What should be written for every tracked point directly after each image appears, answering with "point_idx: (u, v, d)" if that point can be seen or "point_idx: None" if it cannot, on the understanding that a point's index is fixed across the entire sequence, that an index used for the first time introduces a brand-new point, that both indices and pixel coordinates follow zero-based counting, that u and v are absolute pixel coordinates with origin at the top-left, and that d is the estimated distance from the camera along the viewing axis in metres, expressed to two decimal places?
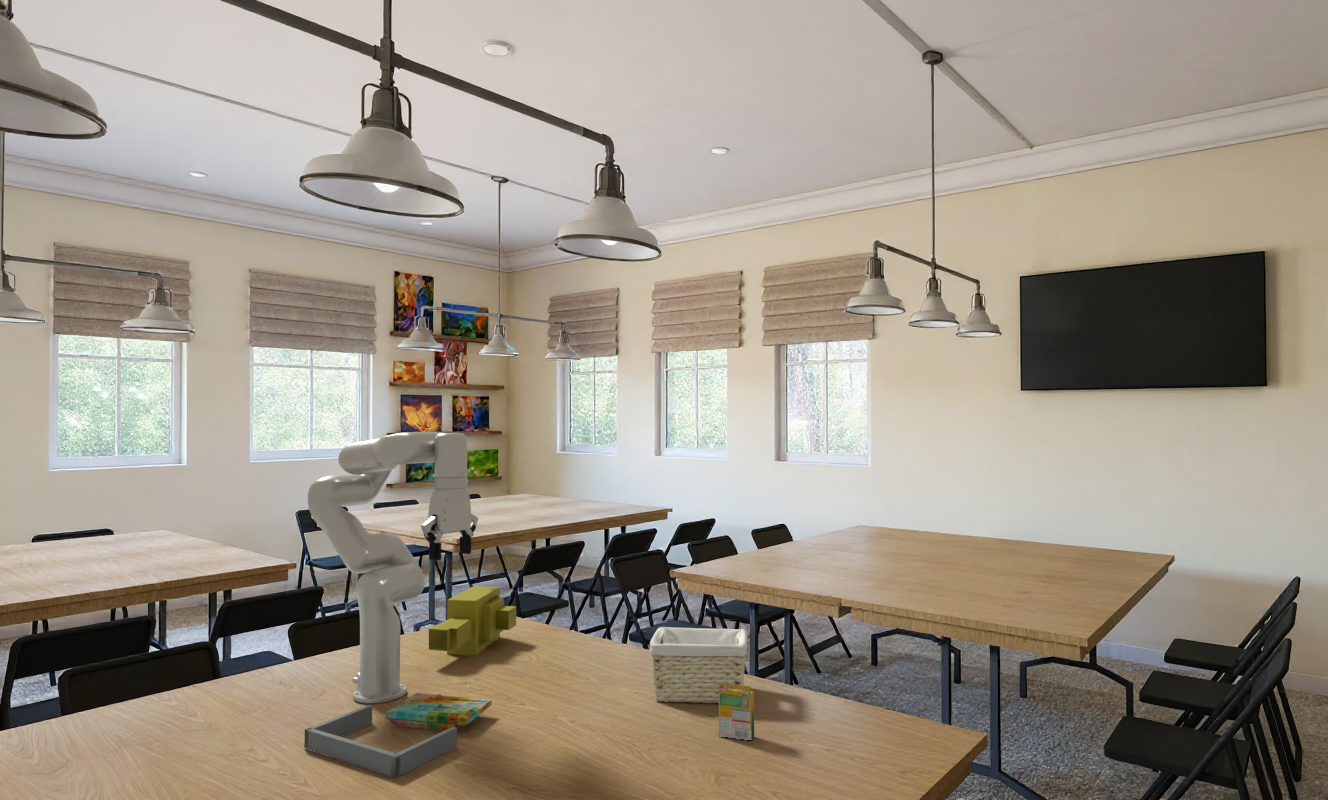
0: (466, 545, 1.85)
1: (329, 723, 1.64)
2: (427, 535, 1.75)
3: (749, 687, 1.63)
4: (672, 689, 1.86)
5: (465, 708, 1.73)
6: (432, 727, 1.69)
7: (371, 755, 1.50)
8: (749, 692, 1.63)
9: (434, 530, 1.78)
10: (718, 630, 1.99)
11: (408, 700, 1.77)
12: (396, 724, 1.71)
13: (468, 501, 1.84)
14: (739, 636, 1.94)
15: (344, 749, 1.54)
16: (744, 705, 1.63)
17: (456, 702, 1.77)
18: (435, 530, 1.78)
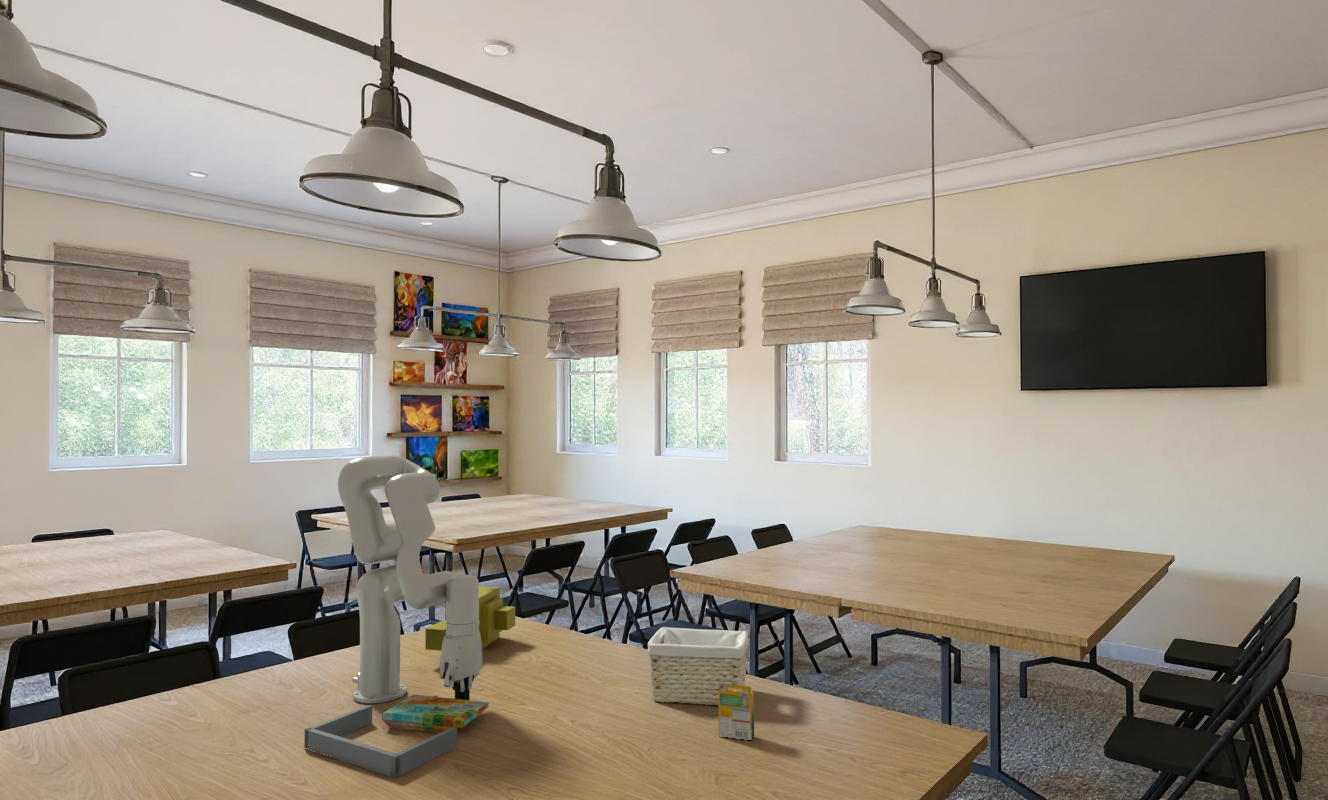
0: None
1: (329, 723, 1.64)
2: (454, 686, 1.78)
3: (749, 687, 1.63)
4: (669, 690, 1.85)
5: (461, 710, 1.72)
6: (428, 730, 1.68)
7: (371, 755, 1.50)
8: (749, 692, 1.63)
9: None
10: (720, 631, 1.97)
11: (404, 702, 1.76)
12: (392, 726, 1.70)
13: (479, 644, 1.83)
14: (739, 638, 1.92)
15: (344, 749, 1.54)
16: (744, 705, 1.63)
17: (453, 704, 1.75)
18: None
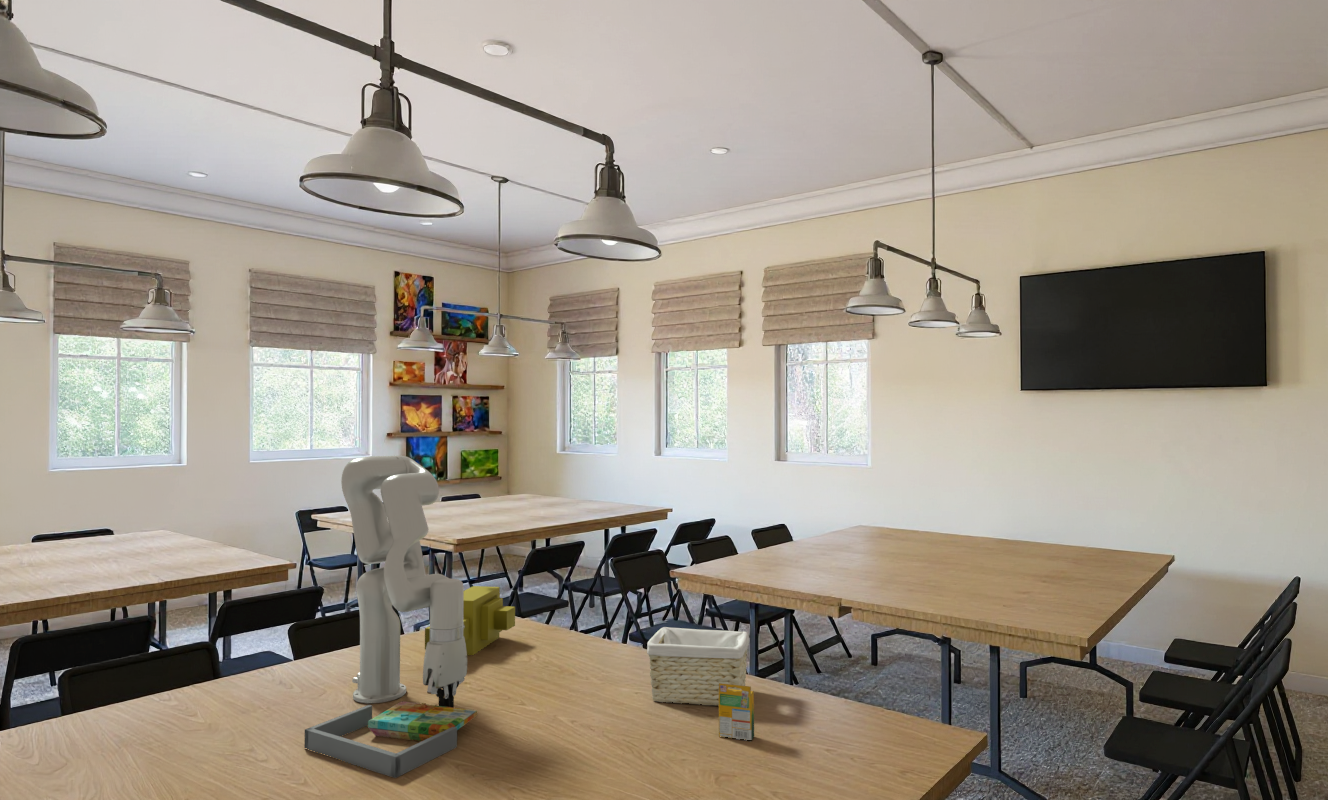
0: None
1: (329, 723, 1.64)
2: (438, 693, 1.74)
3: (749, 687, 1.63)
4: (668, 690, 1.85)
5: (448, 718, 1.67)
6: (414, 738, 1.63)
7: (371, 755, 1.50)
8: (749, 692, 1.63)
9: None
10: (720, 632, 1.97)
11: (392, 709, 1.72)
12: (378, 734, 1.66)
13: (464, 649, 1.79)
14: (739, 638, 1.92)
15: (344, 749, 1.54)
16: (744, 705, 1.63)
17: (441, 712, 1.71)
18: None
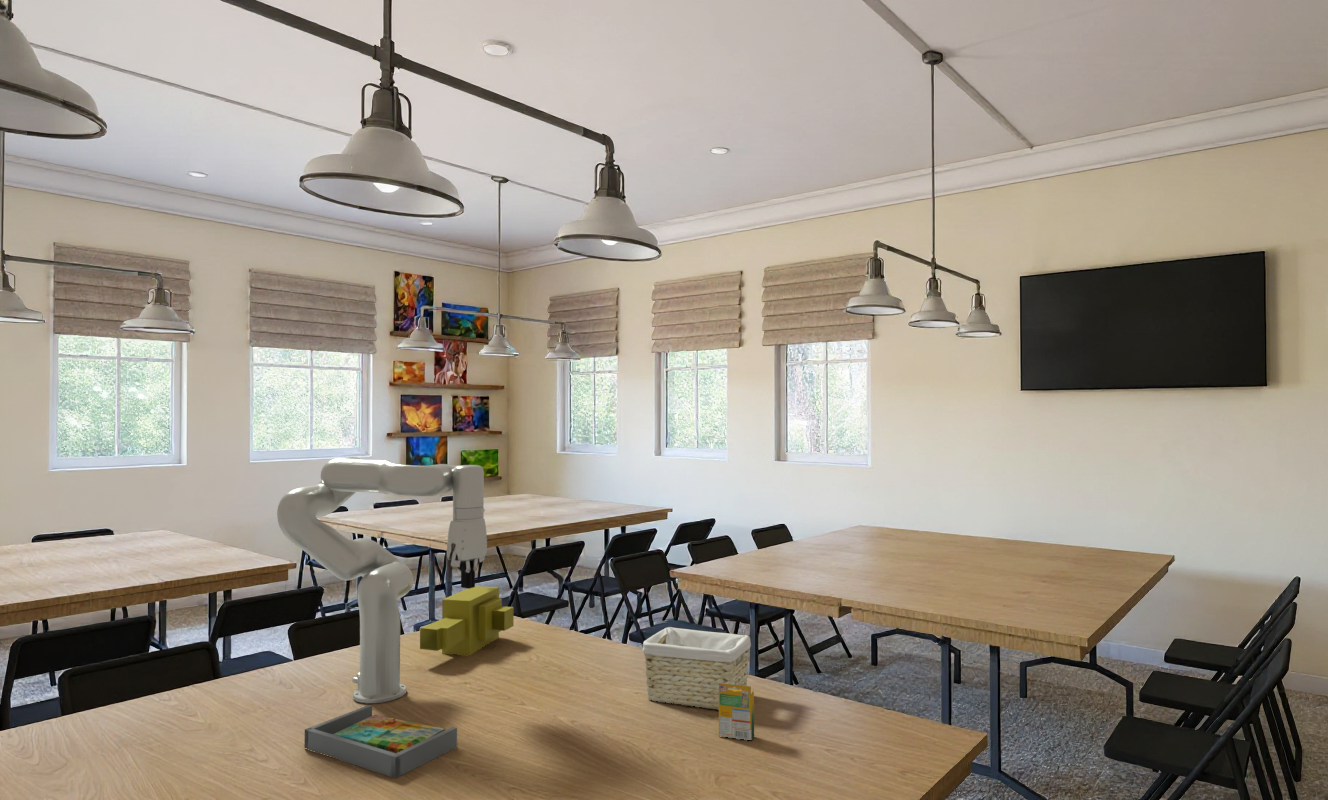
0: None
1: (329, 723, 1.64)
2: (460, 567, 1.89)
3: (749, 687, 1.63)
4: (663, 690, 1.85)
5: (412, 736, 1.57)
6: None
7: (371, 755, 1.50)
8: (749, 692, 1.63)
9: (460, 561, 1.90)
10: (722, 634, 1.95)
11: (360, 723, 1.64)
12: None
13: (484, 530, 1.94)
14: (738, 642, 1.89)
15: (344, 749, 1.54)
16: (744, 705, 1.63)
17: (407, 729, 1.61)
18: (461, 561, 1.90)
